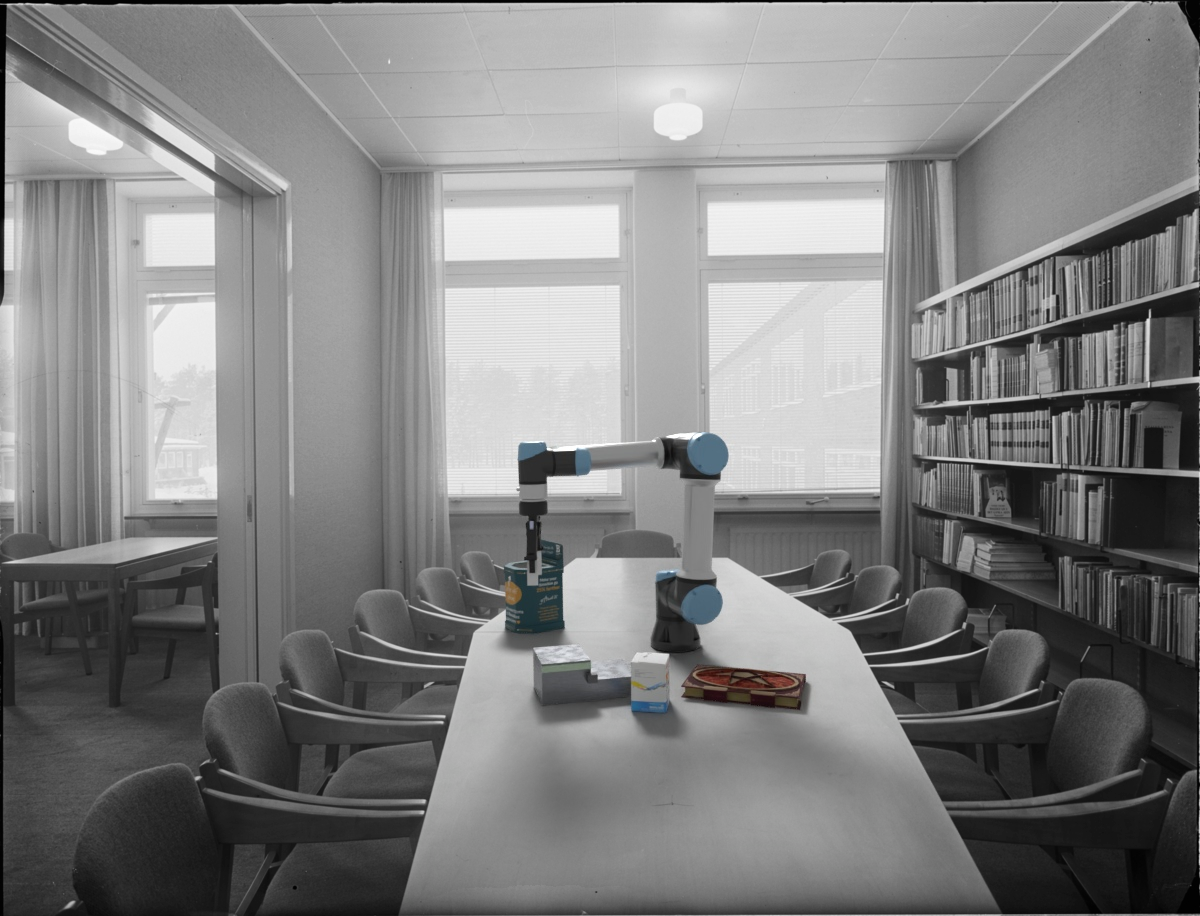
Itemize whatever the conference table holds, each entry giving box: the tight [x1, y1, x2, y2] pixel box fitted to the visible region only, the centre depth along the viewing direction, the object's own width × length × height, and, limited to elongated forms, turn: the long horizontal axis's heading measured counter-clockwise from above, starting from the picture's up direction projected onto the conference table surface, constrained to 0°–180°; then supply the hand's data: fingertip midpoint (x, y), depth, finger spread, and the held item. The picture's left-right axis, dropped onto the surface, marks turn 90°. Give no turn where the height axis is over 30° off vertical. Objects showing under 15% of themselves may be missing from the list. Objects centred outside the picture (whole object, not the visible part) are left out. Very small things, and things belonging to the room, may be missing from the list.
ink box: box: [630, 651, 671, 714], centre depth 178 cm, size 9×8×12 cm
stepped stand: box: [532, 643, 631, 707], centre depth 187 cm, size 24×16×10 cm
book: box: [680, 664, 807, 711], centre depth 188 cm, size 28×21×5 cm
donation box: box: [503, 538, 566, 635], centre depth 250 cm, size 16×16×28 cm
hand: (534, 579), depth 198 cm, fingers open, 13 cm apart
